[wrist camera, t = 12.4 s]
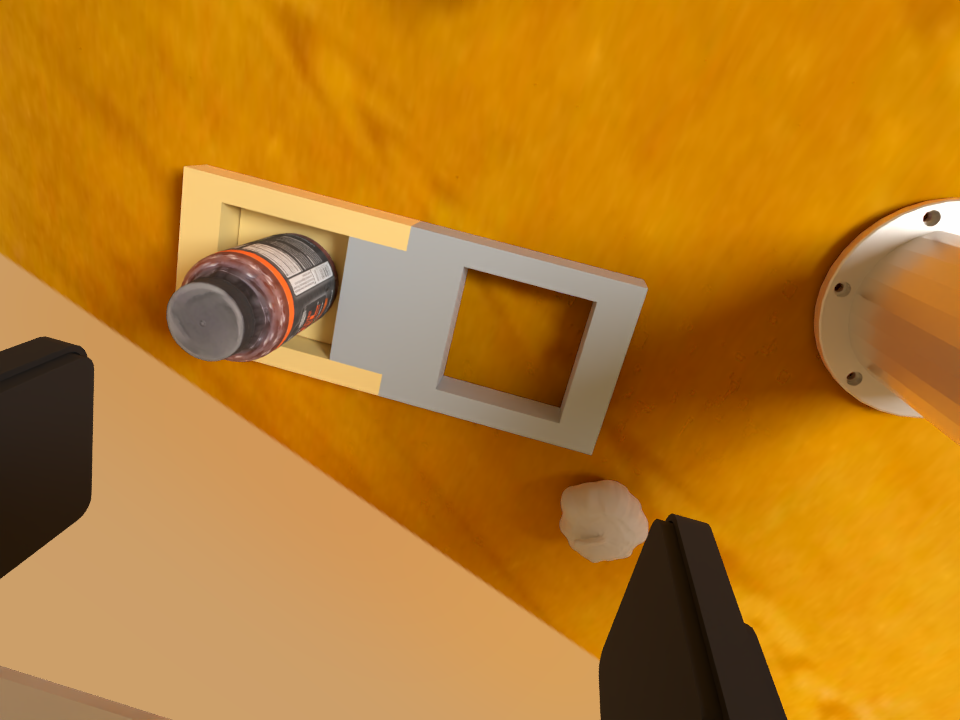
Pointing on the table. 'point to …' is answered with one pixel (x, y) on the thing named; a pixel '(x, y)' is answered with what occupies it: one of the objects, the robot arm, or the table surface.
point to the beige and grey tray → (413, 303)
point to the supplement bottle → (252, 298)
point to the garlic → (602, 520)
